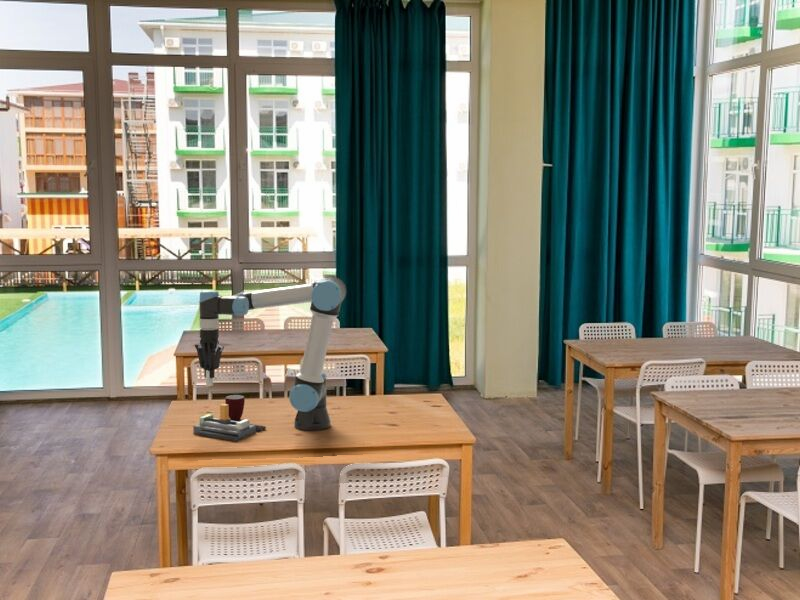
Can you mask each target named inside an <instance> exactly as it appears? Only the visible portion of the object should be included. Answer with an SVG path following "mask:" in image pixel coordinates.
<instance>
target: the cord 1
mask: <svg viewBox="0 0 800 600" xmlns="http://www.w3.org/2000/svg"><path fill="white" fill-rule="evenodd" d="M197 435H199V436H202V437H208V438H214V439H219V440H225V441H232V442H238V441H239V440H238V437H235V436H229V435H223V434H217V433H211V432H206V431H198V434H197Z"/></svg>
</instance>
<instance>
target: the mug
mask: <svg viewBox="0 0 800 600" xmlns="http://www.w3.org/2000/svg"><path fill="white" fill-rule="evenodd" d="M224 399H225V401H224V402H225V403H224V404H229V419H231V421H237V422H239V421H241V418H242V416H243V414H244V409H245V395H241V394H233V395H232V394H231V395H227V396H225V398H224Z"/></svg>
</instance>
